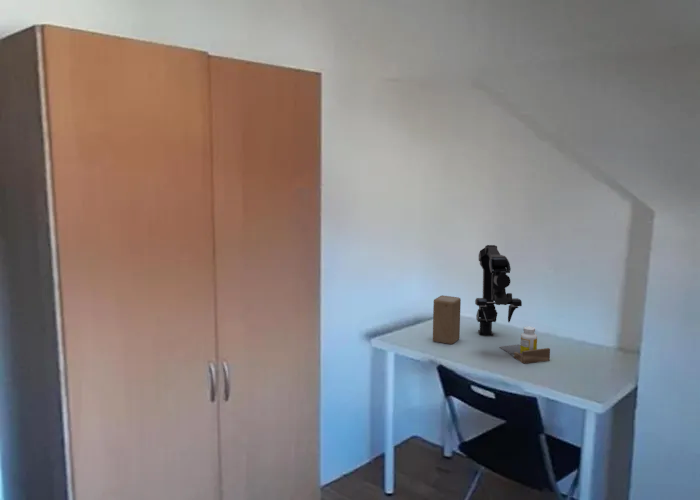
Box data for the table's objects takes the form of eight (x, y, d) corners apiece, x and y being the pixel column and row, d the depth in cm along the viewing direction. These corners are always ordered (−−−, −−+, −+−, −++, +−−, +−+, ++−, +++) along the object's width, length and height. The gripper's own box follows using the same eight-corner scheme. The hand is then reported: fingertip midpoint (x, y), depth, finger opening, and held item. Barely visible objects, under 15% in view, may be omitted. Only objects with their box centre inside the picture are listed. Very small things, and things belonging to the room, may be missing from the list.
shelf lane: (514, 357, 253) (514, 346, 252) (539, 354, 257) (539, 343, 256) (523, 363, 246) (524, 351, 245) (549, 360, 250) (550, 348, 249)
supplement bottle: (533, 354, 257) (535, 325, 255) (538, 359, 251) (539, 330, 248) (518, 354, 257) (519, 325, 255) (522, 359, 251) (523, 330, 248)
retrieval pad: (499, 347, 266) (499, 346, 266) (518, 345, 269) (518, 344, 269) (511, 354, 257) (511, 353, 256) (532, 352, 260) (532, 351, 259)
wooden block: (452, 345, 270) (453, 302, 266) (431, 341, 275) (432, 299, 271) (460, 339, 278) (461, 297, 275) (439, 335, 283) (440, 294, 280)
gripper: (479, 287, 249) (479, 324, 249) (525, 287, 248) (524, 325, 248) (475, 285, 260) (474, 320, 260) (518, 285, 259) (518, 321, 260)
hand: (497, 322), depth 257 cm, fingers open, 9 cm apart
